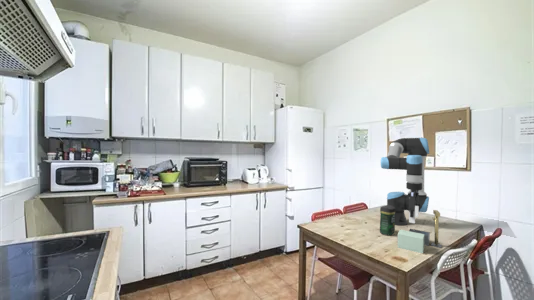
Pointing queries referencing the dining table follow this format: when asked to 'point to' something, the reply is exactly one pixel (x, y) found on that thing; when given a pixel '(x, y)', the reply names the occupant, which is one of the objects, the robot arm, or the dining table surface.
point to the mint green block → (411, 241)
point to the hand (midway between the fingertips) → (413, 219)
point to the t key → (436, 224)
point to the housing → (426, 238)
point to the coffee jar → (387, 220)
